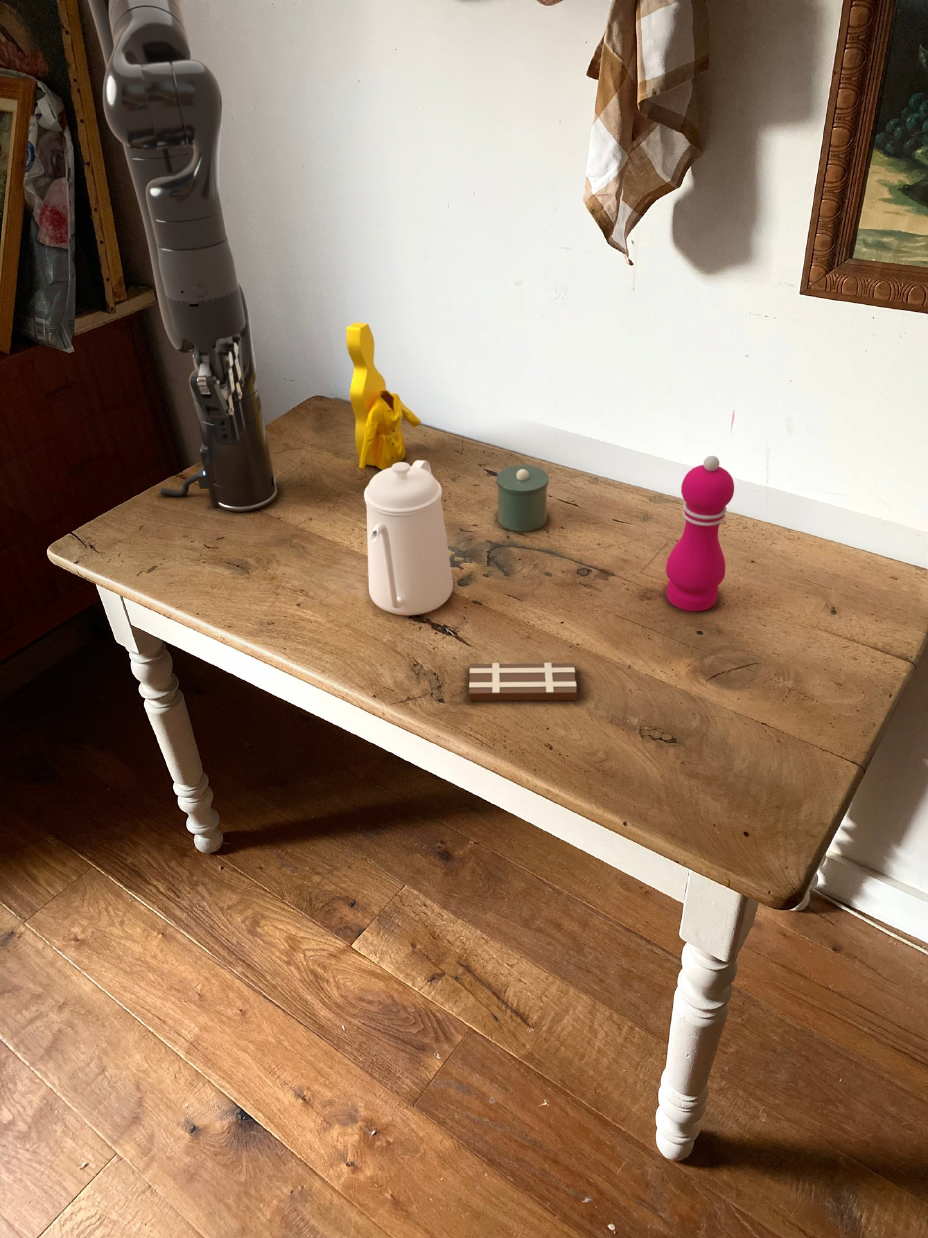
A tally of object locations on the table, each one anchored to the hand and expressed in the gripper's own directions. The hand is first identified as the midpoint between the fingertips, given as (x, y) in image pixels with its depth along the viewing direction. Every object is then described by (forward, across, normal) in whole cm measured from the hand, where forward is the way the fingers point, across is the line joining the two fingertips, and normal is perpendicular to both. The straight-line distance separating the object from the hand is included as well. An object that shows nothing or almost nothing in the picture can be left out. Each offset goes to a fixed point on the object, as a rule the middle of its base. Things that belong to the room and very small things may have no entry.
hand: (232, 436), depth 105 cm
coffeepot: (+23, 0, +19) cm, 30 cm away
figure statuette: (+23, -37, +12) cm, 45 cm away
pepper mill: (+23, +1, +55) cm, 60 cm away
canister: (+23, -18, +34) cm, 45 cm away
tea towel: (+23, +18, +33) cm, 44 cm away
